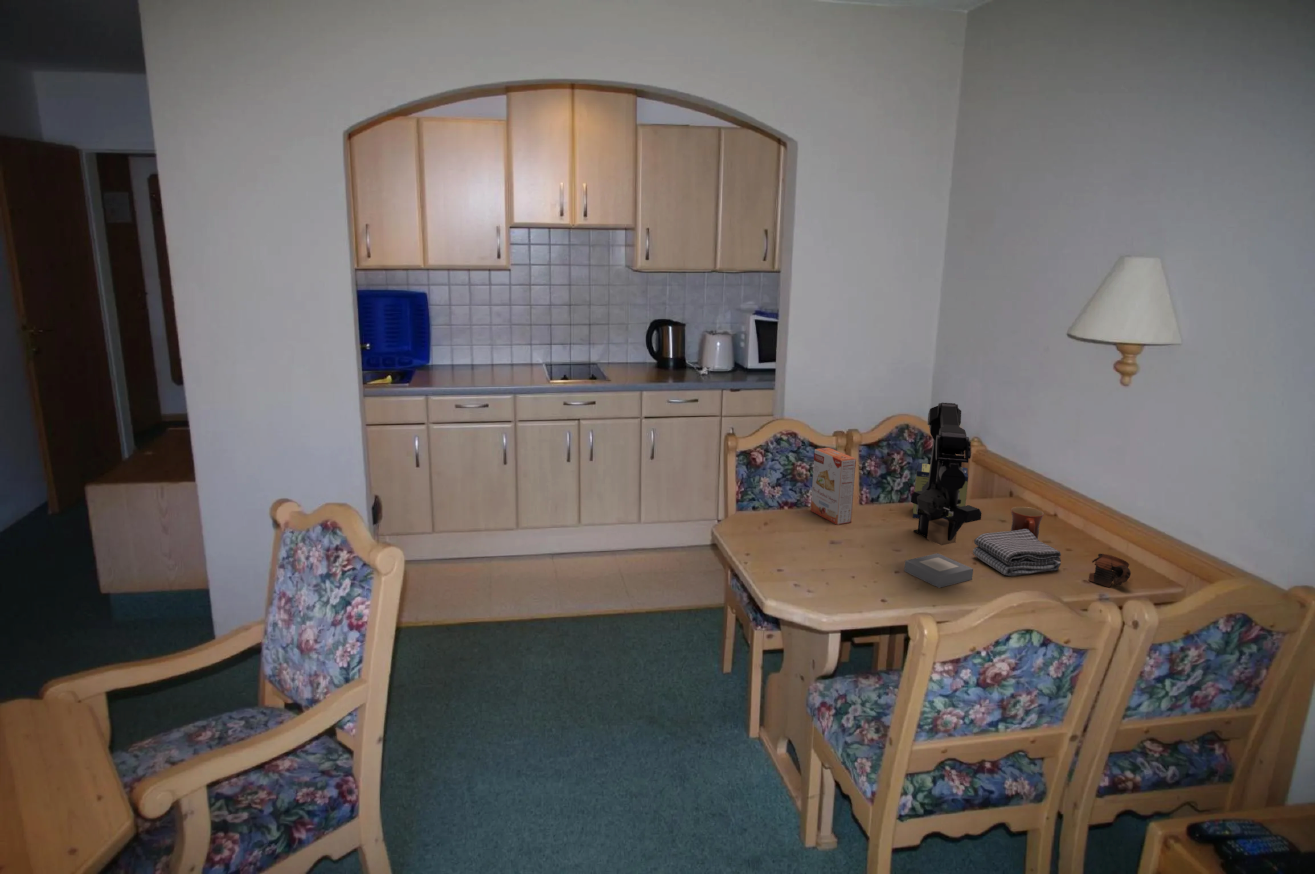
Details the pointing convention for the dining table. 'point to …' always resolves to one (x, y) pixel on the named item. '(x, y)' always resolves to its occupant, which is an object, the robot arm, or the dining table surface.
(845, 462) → the cracker box
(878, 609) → the dining table surface
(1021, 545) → the towel
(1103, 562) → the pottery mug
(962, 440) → the robot arm
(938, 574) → the pedestal
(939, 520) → the walnut cube
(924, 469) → the protein box
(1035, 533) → the mug
